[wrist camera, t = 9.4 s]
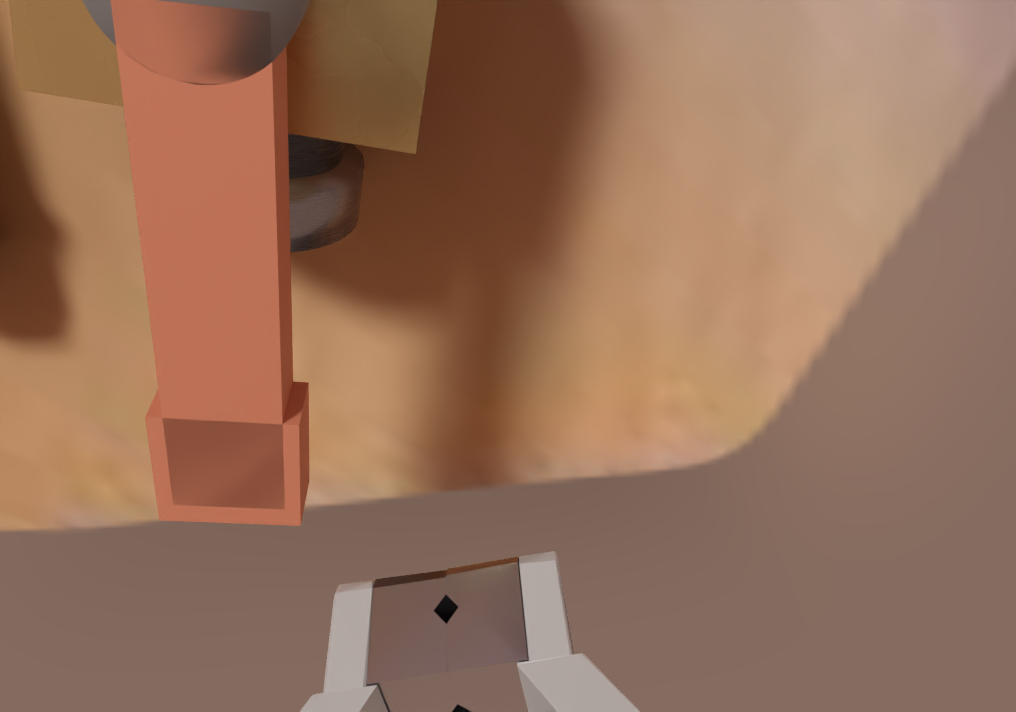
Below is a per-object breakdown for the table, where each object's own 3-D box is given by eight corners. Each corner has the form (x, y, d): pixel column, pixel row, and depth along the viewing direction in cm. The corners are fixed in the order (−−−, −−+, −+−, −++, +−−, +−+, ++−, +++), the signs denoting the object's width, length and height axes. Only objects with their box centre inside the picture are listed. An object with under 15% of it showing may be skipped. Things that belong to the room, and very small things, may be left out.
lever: (316, -152, 14) (304, -145, 13) (317, 480, 22) (309, 526, 20) (87, -182, 14) (49, -178, 12) (168, 473, 21) (150, 519, 20)
